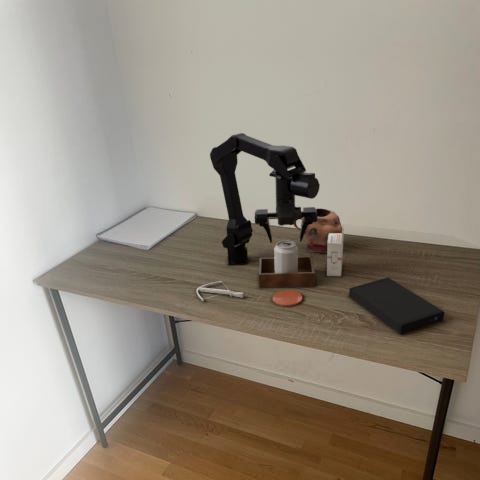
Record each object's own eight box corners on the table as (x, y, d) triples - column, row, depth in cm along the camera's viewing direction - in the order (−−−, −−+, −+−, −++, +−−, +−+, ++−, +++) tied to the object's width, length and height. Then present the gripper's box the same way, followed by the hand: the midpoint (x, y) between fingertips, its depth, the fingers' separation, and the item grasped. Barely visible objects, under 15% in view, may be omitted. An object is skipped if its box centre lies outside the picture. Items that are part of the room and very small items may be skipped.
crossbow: (188, 301, 145) (187, 296, 144) (207, 283, 154) (206, 278, 153) (234, 307, 138) (233, 301, 137) (251, 288, 148) (250, 282, 147)
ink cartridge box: (327, 264, 159) (328, 223, 151) (341, 265, 158) (344, 224, 150) (325, 276, 152) (327, 233, 144) (341, 276, 151) (343, 234, 143)
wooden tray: (259, 288, 148) (258, 274, 145) (260, 270, 158) (259, 257, 156) (314, 286, 147) (314, 272, 144) (311, 269, 157) (311, 256, 154)
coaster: (272, 306, 138) (272, 305, 137) (272, 292, 145) (272, 290, 145) (303, 306, 137) (303, 304, 137) (301, 291, 145) (301, 289, 144)
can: (300, 274, 154) (301, 240, 147) (293, 284, 148) (293, 249, 142) (279, 271, 157) (279, 237, 150) (271, 280, 151) (270, 246, 145)
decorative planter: (284, 250, 172) (284, 213, 164) (298, 238, 180) (298, 203, 173) (336, 258, 163) (338, 220, 155) (348, 245, 171) (350, 209, 164)
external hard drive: (387, 285, 144) (388, 277, 142) (442, 320, 126) (444, 311, 124) (348, 297, 140) (349, 288, 138) (400, 334, 121) (401, 325, 120)
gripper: (253, 202, 131) (255, 253, 140) (319, 199, 130) (318, 251, 138) (254, 191, 141) (256, 239, 149) (316, 188, 139) (315, 236, 148)
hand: (285, 241), depth 146 cm, fingers open, 9 cm apart
